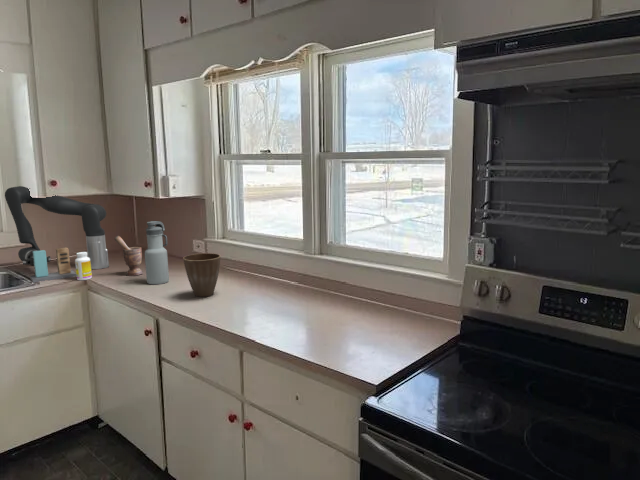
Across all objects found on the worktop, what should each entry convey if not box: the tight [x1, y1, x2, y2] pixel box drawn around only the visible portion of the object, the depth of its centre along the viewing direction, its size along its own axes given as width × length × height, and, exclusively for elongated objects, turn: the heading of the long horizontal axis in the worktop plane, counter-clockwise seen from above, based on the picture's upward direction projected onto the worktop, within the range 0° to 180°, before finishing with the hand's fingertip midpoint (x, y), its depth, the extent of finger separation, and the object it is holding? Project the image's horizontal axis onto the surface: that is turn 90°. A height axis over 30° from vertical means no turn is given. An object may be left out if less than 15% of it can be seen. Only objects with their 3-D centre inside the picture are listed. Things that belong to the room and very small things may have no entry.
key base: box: [29, 269, 77, 283], centre depth 249 cm, size 19×10×2 cm, turn 126°
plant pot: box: [182, 252, 221, 298], centre depth 210 cm, size 15×15×16 cm
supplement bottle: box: [74, 251, 93, 281], centre depth 244 cm, size 7×7×13 cm
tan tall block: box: [55, 247, 72, 274], centre depth 251 cm, size 5×4×12 cm
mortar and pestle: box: [114, 235, 144, 277], centre depth 249 cm, size 12×9×20 cm
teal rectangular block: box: [33, 249, 49, 277], centre depth 245 cm, size 5×4×12 cm
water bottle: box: [144, 220, 170, 286], centre depth 233 cm, size 10×10×28 cm
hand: (39, 262), depth 248 cm, fingers closed
